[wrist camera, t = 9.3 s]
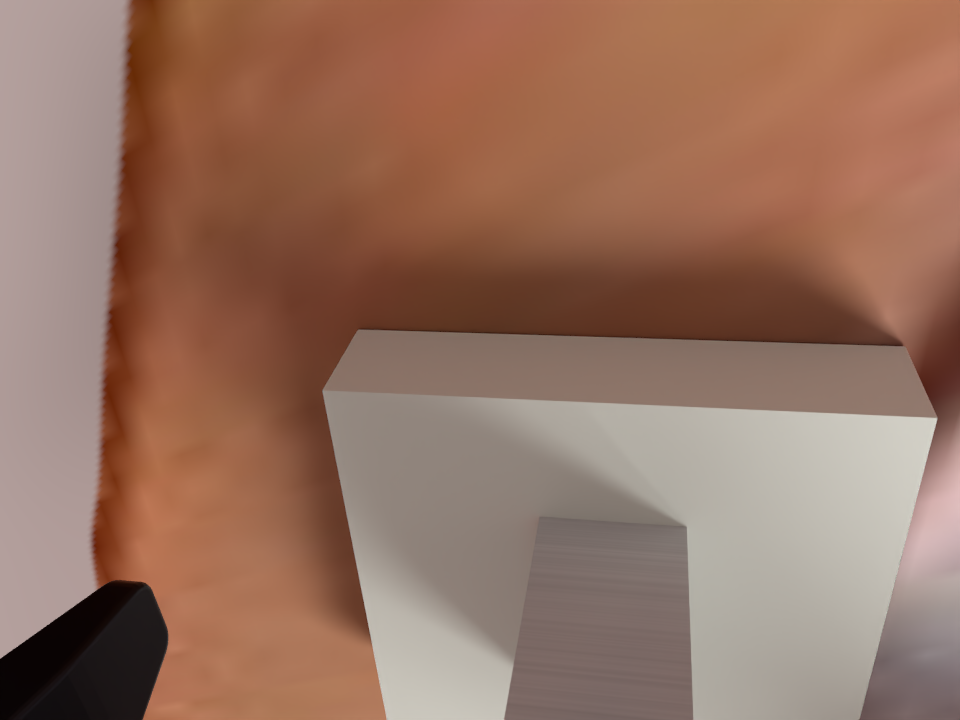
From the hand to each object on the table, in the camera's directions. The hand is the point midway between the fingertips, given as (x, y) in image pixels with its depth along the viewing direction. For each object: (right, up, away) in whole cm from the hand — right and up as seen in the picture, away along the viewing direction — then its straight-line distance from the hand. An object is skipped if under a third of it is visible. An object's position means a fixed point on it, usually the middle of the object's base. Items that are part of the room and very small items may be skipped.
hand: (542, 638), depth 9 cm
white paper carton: (+3, -4, +15) cm, 15 cm away
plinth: (+3, -2, +17) cm, 17 cm away
